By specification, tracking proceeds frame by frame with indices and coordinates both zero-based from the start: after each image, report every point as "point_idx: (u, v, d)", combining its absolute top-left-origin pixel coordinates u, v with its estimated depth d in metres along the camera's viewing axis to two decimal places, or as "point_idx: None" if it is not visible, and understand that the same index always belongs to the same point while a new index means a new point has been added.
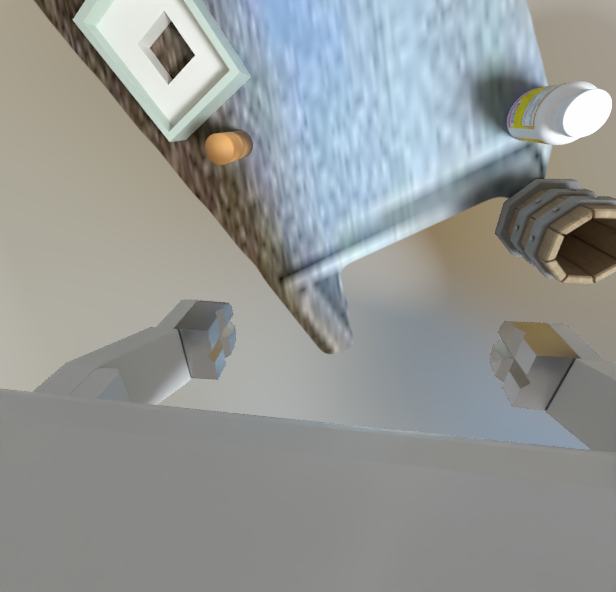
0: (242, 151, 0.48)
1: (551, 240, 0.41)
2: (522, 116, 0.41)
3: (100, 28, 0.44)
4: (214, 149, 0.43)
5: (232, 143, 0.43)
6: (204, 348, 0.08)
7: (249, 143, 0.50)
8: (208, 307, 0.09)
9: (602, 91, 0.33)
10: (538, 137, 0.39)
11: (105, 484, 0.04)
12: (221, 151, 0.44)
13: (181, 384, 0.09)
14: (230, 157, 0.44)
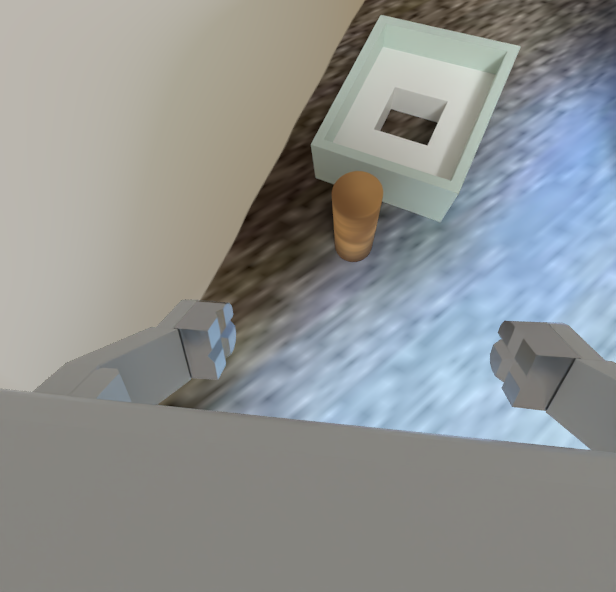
0: (359, 240, 0.28)
1: None
2: None
3: (384, 50, 0.36)
4: (353, 187, 0.24)
5: (377, 209, 0.24)
6: (204, 348, 0.08)
7: (365, 252, 0.32)
8: (208, 307, 0.09)
9: None
10: None
11: (105, 484, 0.04)
12: (356, 198, 0.24)
13: (181, 384, 0.09)
14: (356, 214, 0.24)
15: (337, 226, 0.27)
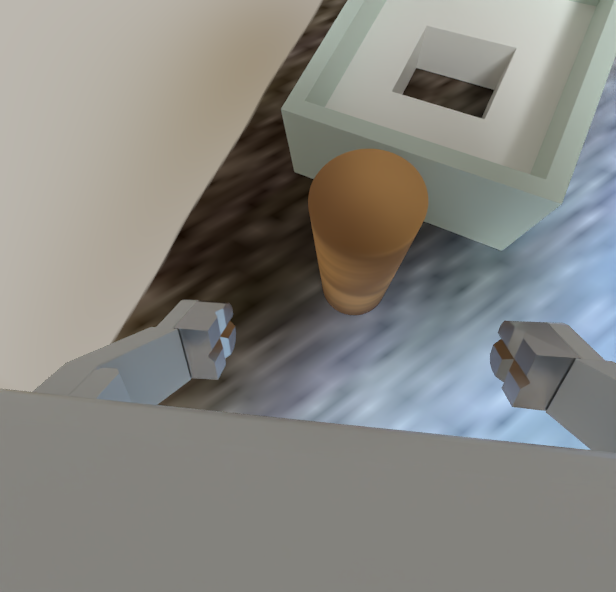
0: (367, 291, 0.14)
1: None
2: None
3: None
4: (358, 184, 0.11)
5: (412, 238, 0.10)
6: (204, 348, 0.08)
7: (375, 303, 0.18)
8: (208, 307, 0.09)
9: None
10: None
11: (105, 484, 0.04)
12: (365, 209, 0.10)
13: (181, 384, 0.09)
14: (364, 249, 0.10)
15: (323, 265, 0.13)
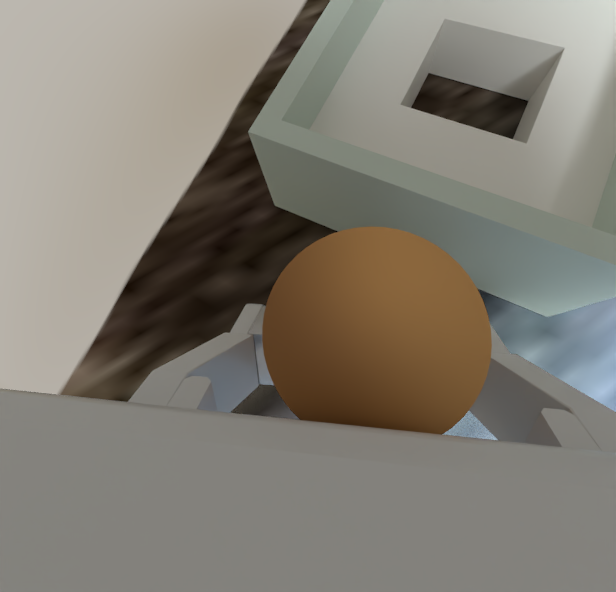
0: None
1: None
2: None
3: None
4: (357, 297, 0.06)
5: (460, 406, 0.05)
6: None
7: None
8: None
9: None
10: None
11: (105, 484, 0.04)
12: (370, 352, 0.05)
13: (251, 391, 0.09)
14: None
15: None
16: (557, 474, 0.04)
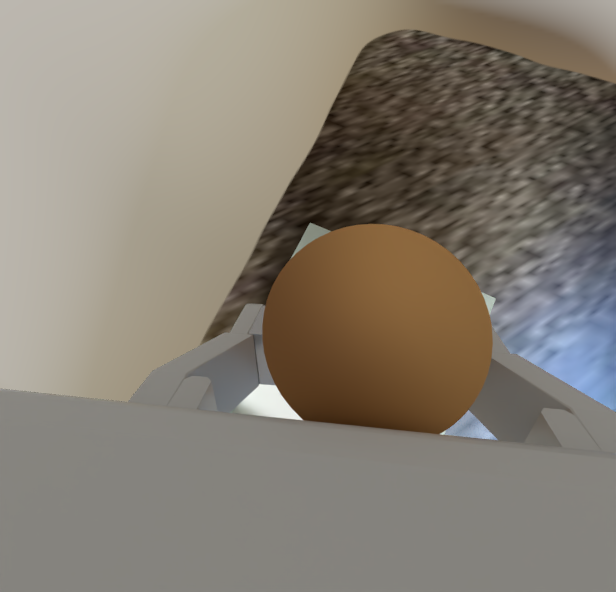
0: None
1: None
2: None
3: None
4: (357, 294, 0.06)
5: None
6: None
7: None
8: None
9: None
10: None
11: (105, 484, 0.04)
12: (371, 350, 0.05)
13: (251, 391, 0.09)
14: None
15: None
16: (557, 474, 0.04)
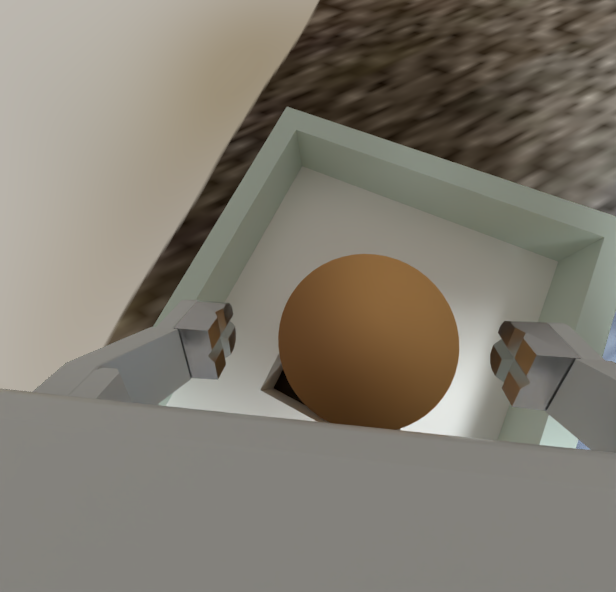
0: None
1: None
2: None
3: (303, 176, 0.16)
4: (353, 311, 0.07)
5: (435, 398, 0.07)
6: (204, 348, 0.08)
7: None
8: (208, 307, 0.09)
9: None
10: None
11: (105, 484, 0.04)
12: (364, 355, 0.07)
13: (181, 384, 0.09)
14: (362, 424, 0.07)
15: None
16: (557, 474, 0.04)
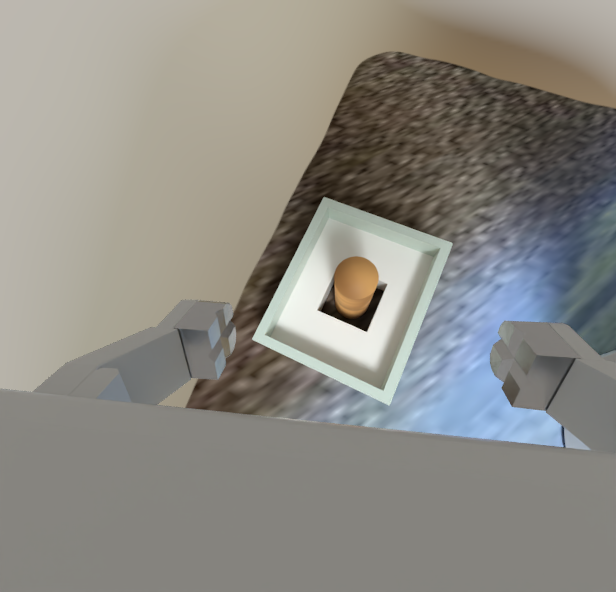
0: (358, 308, 0.32)
1: None
2: None
3: (329, 222, 0.37)
4: (353, 271, 0.28)
5: (373, 291, 0.28)
6: (204, 348, 0.08)
7: (362, 312, 0.36)
8: (208, 307, 0.09)
9: None
10: None
11: (105, 484, 0.04)
12: (356, 281, 0.28)
13: (181, 384, 0.09)
14: (355, 296, 0.28)
15: (338, 298, 0.31)
16: (557, 474, 0.04)
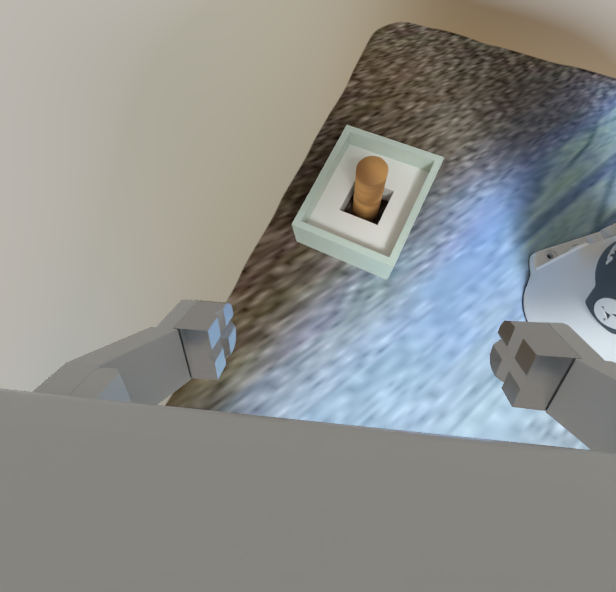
0: (371, 203, 0.43)
1: None
2: None
3: (350, 147, 0.48)
4: (369, 165, 0.39)
5: (384, 180, 0.39)
6: (204, 348, 0.08)
7: (374, 214, 0.46)
8: (208, 307, 0.09)
9: None
10: None
11: (105, 484, 0.04)
12: (371, 172, 0.39)
13: (181, 384, 0.09)
14: (371, 182, 0.38)
15: (357, 192, 0.42)
16: (557, 474, 0.04)
